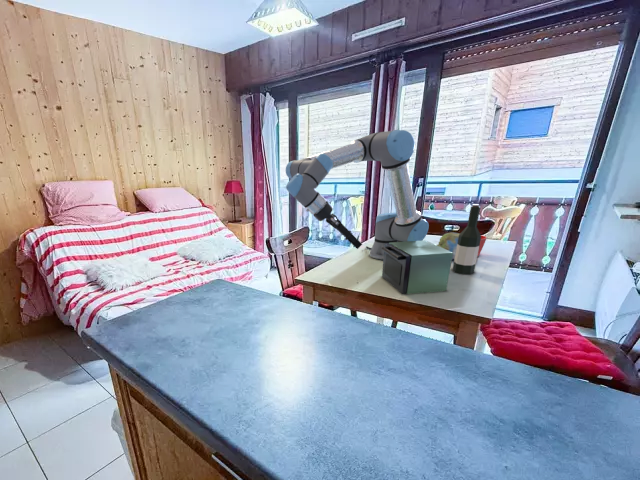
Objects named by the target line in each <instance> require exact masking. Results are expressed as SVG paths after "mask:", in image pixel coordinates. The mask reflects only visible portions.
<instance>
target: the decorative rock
mask: <svg viewBox="0 0 640 480" xmlns="http://www.w3.org/2000/svg"><path fill="white" fill-rule="evenodd" d="M459 234H460V233H458V232H447V233H444V234H443V235H442V236H441V237H440V238H439V241H438V242H437V243H438V244H436V245H437V246H439V247H441V248H444V249H446V250H448V251H450V252H452V253H453V255H452V260H455V254H456V249H457V243H458V238H459Z"/></svg>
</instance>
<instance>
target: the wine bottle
mask: <svg viewBox="0 0 640 480" xmlns="http://www.w3.org/2000/svg"><path fill="white" fill-rule="evenodd" d="M469 209H470V210H469V214H468V215H469V216H468V220H467V225H466V227H464V229H463V230H462V231H461V232H460V233H459V238H458V243H457V249H456V254H455V259H453V266H452V271H453V272H454V273H456V274H460V275H472V274H474V273H475V269H476V264H477V259H478V256H477V255H478V250H479V245H480V241H481V235H482V234H481V233H480V231H479V228H478V227H477V226H478V221H479V216H480V212H481V205H480V204H478V203H473V204H472V206H470V208H469Z"/></svg>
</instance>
